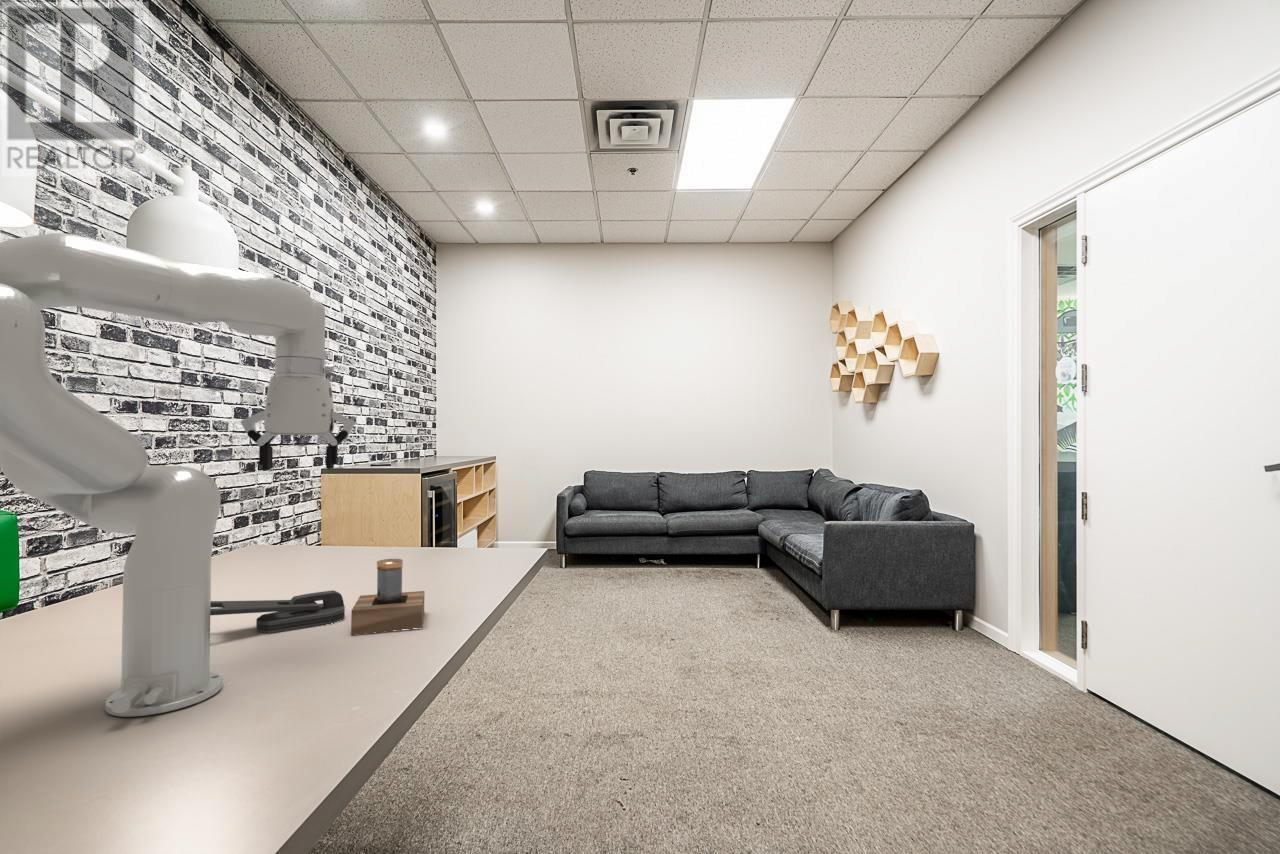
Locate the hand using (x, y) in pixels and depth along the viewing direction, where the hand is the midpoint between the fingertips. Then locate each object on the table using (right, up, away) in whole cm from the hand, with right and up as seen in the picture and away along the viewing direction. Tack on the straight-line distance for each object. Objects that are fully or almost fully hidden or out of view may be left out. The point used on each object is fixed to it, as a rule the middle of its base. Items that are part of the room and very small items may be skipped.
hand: (299, 468), depth 104 cm
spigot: (+11, -31, +12) cm, 34 cm away
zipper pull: (-10, -31, +9) cm, 34 cm away
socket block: (+11, -31, +12) cm, 34 cm away
